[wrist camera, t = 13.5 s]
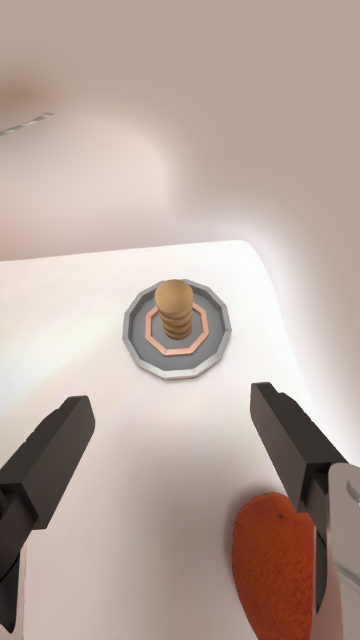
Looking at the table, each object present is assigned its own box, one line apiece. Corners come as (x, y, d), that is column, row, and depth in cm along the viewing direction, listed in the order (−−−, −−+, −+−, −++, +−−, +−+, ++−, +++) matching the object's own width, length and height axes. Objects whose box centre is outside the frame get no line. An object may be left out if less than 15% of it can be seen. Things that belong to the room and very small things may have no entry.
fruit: (304, 485, 20) (370, 528, 12) (329, 617, 16) (448, 793, 8) (223, 476, 20) (242, 513, 13) (227, 601, 16) (257, 753, 9)
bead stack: (164, 341, 27) (154, 312, 19) (163, 316, 29) (154, 281, 21) (193, 339, 27) (194, 309, 19) (190, 314, 29) (190, 278, 21)
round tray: (124, 383, 25) (118, 381, 23) (131, 292, 33) (127, 283, 30) (236, 375, 25) (240, 371, 23) (217, 285, 32) (219, 276, 30)
